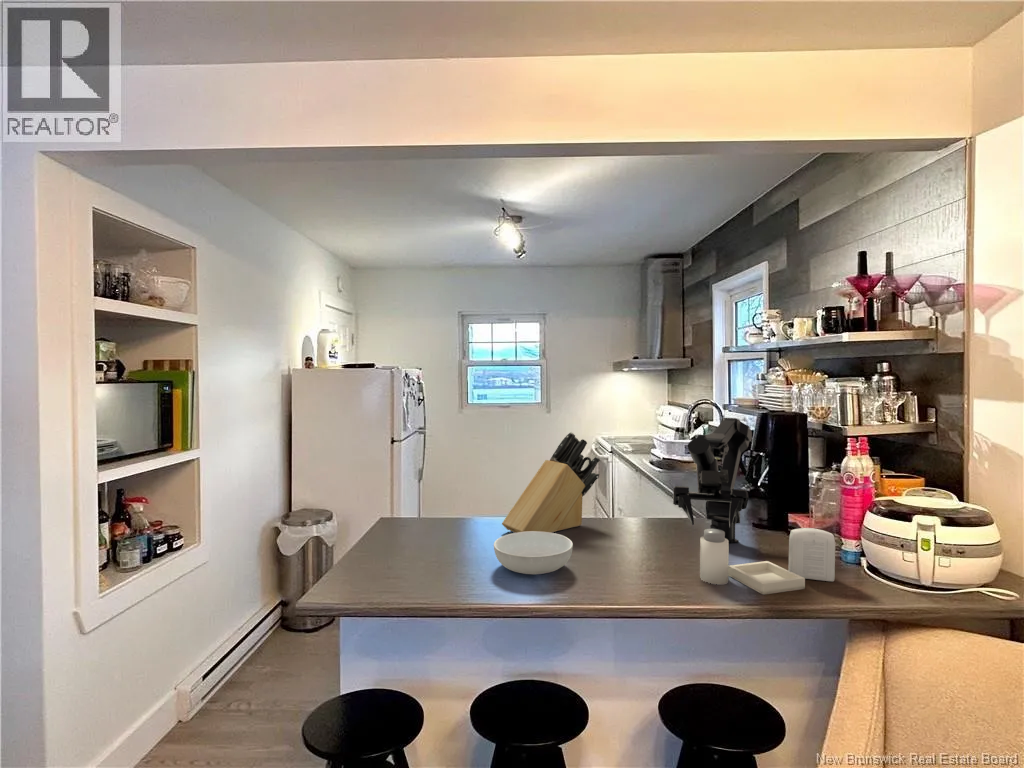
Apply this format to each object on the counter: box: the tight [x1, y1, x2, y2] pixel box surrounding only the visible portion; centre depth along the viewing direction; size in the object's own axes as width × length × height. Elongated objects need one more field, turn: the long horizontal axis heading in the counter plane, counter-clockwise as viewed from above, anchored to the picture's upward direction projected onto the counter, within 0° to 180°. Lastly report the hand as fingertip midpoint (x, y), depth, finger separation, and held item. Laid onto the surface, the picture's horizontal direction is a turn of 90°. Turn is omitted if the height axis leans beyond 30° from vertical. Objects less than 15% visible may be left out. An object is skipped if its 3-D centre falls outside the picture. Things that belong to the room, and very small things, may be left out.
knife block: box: [501, 431, 600, 533], centre depth 175 cm, size 11×35×31 cm, turn 127°
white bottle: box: [699, 528, 730, 585], centre depth 131 cm, size 7×7×12 cm
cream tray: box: [728, 560, 806, 595], centre depth 129 cm, size 12×12×2 cm
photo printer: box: [787, 527, 836, 582], centre depth 132 cm, size 10×4×12 cm, turn 72°
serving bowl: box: [493, 531, 574, 575], centre depth 139 cm, size 21×21×7 cm
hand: (711, 525), depth 136 cm, fingers open, 9 cm apart
